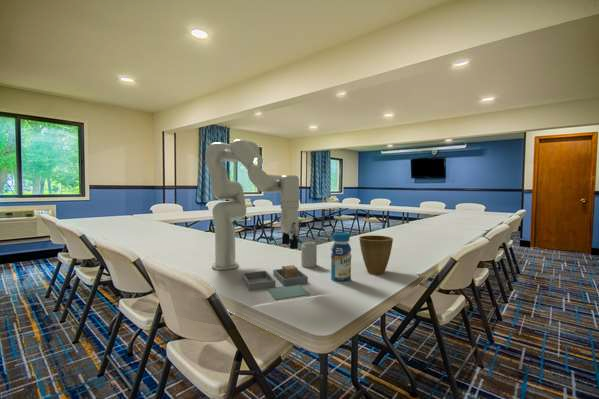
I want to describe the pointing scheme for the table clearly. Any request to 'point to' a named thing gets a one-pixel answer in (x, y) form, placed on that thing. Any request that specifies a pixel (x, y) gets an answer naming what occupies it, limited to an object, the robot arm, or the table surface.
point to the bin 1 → (258, 280)
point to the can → (309, 254)
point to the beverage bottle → (341, 258)
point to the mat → (288, 291)
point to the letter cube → (289, 272)
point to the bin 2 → (291, 281)
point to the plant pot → (376, 252)
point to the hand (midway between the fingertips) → (289, 246)
